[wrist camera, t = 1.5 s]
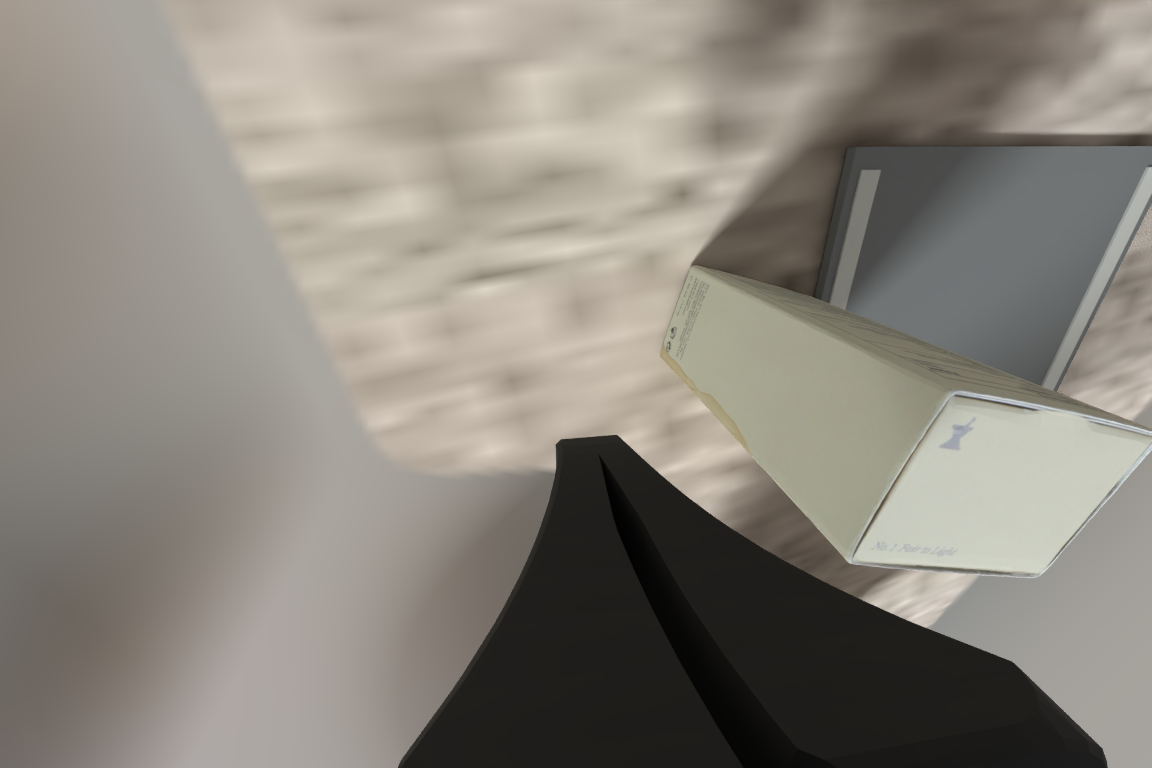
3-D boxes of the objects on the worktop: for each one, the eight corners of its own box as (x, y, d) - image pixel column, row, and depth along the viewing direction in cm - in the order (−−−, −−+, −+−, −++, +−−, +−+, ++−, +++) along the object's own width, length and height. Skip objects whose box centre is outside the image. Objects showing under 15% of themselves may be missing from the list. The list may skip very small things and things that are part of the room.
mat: (1013, 455, 27) (1023, 460, 26) (773, 479, 25) (779, 486, 24) (1165, 146, 20) (1183, 145, 19) (847, 147, 18) (858, 146, 17)
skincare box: (655, 355, 20) (829, 570, 10) (691, 257, 19) (949, 384, 8) (775, 380, 22) (1040, 589, 11) (817, 291, 20) (1179, 437, 9)
